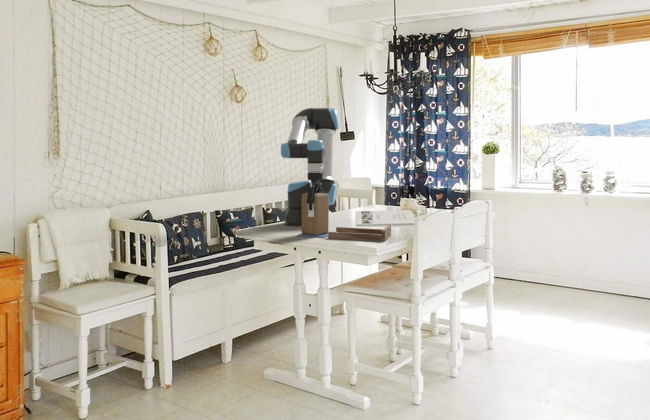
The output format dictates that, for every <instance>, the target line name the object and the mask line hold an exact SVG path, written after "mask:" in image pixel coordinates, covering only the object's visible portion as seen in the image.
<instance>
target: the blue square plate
mask: <svg viewBox="0 0 650 420" xmlns="http://www.w3.org/2000/svg"><path fill="white" fill-rule="evenodd" d="M300 236H306V237H305V238H319V239H321V238H323V239H326V238H328V233H326V234H322V235H317V236H315V235H308V234H303V233H302V232H301V233H299V234H297V237H300Z"/></svg>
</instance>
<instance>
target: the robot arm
mask: <svg viewBox="0 0 650 420" xmlns="http://www.w3.org/2000/svg"><path fill="white" fill-rule="evenodd" d="M339 126H340V125H339V117H338V111H337V110H336V108H332V107H330V108H329V107H315V108H314V107H309V108H305V109H302V110H301V111H299V112H298V113H297V114H295V116H293V118H292V122H291V130H290V134H289V136H288V139H287V142H285V143H284V142H283V143H281V144H280V156H281V157H282V158H283V159H307V164H306V165H307V166H306V167H307V169H306V170H307V176H306V177H307V180H302V181H301V180H299V181H294V182H290V183H289V184H288V186H287V191H286V192H287V212H286V214H285V218H284V224H285V225H287V226H295V227H296V226H297V227H298V226H302V194H305V193H308V195H307V202H306V203H308V217H314V203H313V202H314V195H315V193H327V194H328V195H329V206H333V205H334V204H335V202H336V197H337V193H338V185H337V183H335V180H334V179H333V154H334V153H333V152H334V151H333V149H334V146H333V145H334V135H335V134H336V132H337V131H338V130H339V129H340V128H339ZM308 130H314V133H315V134H316V135H317V139H309V140H307V143H306V142H305V143H304V139H305V135H306V133H307V132H306V131H308Z"/></svg>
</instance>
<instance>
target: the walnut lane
mask: <svg viewBox="0 0 650 420" xmlns="http://www.w3.org/2000/svg"><path fill="white" fill-rule="evenodd" d="M390 237H392V225H387V226H386V227H384V228H382V229H381V228H380V229H379V228H365V227H364V228H362V227H345V226H344V227H343V226H342V227H341V226H339V227H338V226H336V228H335V231H328V236H327V239H333V240H351V241H352V240H353V241H354V240H355V241H373V242H375V241H376V242H386V241H387V240H388V239H389V238H390Z"/></svg>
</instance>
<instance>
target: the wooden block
mask: <svg viewBox="0 0 650 420" xmlns="http://www.w3.org/2000/svg"><path fill="white" fill-rule="evenodd" d="M307 195H308V193H305V194H302V225H301V233H303V234H308V235H315V236H317V235H322V234H326V233H328V232H329V224H330V223H329V211H330V210H329V208H330V207H329V206H330V205H329V195H328V194H327V193H315V195H314V202H313V203H314V217H308V203H306V202H307Z"/></svg>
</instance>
